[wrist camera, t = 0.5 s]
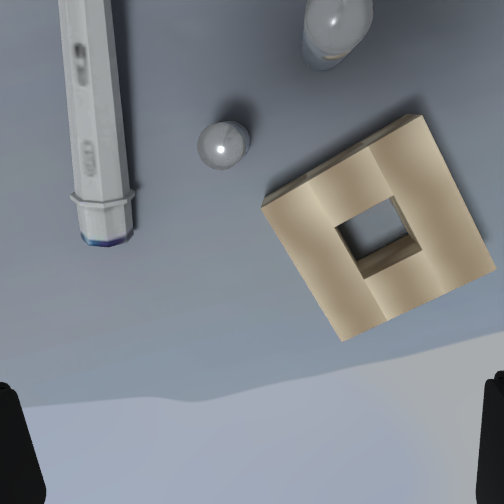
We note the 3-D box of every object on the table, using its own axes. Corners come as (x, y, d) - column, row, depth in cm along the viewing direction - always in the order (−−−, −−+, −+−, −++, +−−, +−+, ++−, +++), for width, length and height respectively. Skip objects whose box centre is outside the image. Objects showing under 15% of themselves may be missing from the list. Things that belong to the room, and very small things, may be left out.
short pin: (236, 113, 33) (226, 114, 28) (257, 148, 33) (251, 155, 29) (203, 134, 34) (188, 139, 29) (224, 168, 34) (213, 178, 29)
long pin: (331, 15, 30) (353, -40, 19) (352, 55, 31) (385, 26, 19) (293, 40, 31) (292, 2, 20) (314, 79, 32) (325, 64, 20)
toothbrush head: (63, 245, 33) (-8, -199, 22) (99, 213, 39) (57, -149, 28) (130, 251, 33) (92, -197, 22) (156, 218, 39) (136, -147, 28)
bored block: (406, 114, 32) (422, 114, 28) (474, 251, 34) (497, 269, 31) (264, 197, 35) (260, 208, 31) (337, 318, 37) (341, 342, 33)
